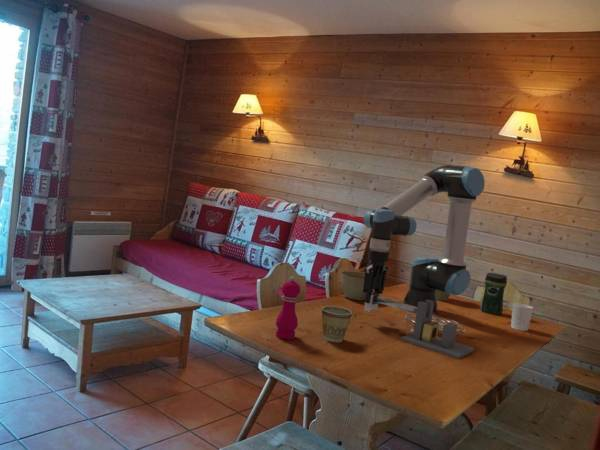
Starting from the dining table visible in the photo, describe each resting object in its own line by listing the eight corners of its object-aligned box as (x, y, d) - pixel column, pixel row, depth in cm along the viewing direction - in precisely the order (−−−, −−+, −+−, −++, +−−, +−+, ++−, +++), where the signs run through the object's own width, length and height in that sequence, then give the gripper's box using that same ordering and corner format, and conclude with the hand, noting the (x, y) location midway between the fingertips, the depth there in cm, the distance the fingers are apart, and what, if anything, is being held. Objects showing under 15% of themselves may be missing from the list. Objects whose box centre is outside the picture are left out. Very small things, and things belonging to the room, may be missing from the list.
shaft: (365, 302, 201) (367, 292, 200) (371, 301, 204) (372, 291, 203) (419, 318, 187) (421, 307, 186) (424, 317, 190) (426, 306, 190)
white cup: (531, 332, 220) (535, 309, 219) (511, 329, 221) (515, 306, 220) (526, 327, 228) (530, 305, 227) (507, 324, 229) (511, 302, 228)
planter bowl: (364, 304, 232) (368, 280, 231) (331, 296, 240) (335, 273, 239) (378, 299, 246) (381, 276, 245) (346, 291, 254) (349, 269, 253)
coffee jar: (503, 313, 250) (509, 275, 248) (499, 316, 243) (506, 276, 241) (482, 308, 255) (488, 270, 253) (478, 311, 248) (484, 272, 246)
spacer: (421, 340, 185) (423, 323, 185) (428, 337, 190) (431, 321, 190) (429, 342, 184) (431, 325, 183) (436, 339, 188) (439, 323, 188)
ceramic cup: (327, 345, 170) (331, 314, 169) (312, 334, 179) (316, 306, 178) (361, 343, 176) (365, 314, 175) (345, 333, 185) (349, 305, 184)
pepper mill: (273, 331, 177) (281, 273, 175) (295, 333, 177) (302, 275, 175) (274, 338, 169) (282, 277, 167) (296, 340, 170) (304, 280, 168)
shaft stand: (401, 339, 186) (406, 301, 185) (419, 333, 197) (424, 296, 195) (458, 358, 173) (465, 317, 172) (474, 351, 184) (480, 311, 182)
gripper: (376, 252, 190) (367, 315, 193) (398, 251, 204) (390, 310, 206) (358, 248, 195) (350, 310, 197) (381, 247, 209) (373, 305, 211)
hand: (370, 310), depth 202 cm, fingers closed on shaft, 4 cm apart
